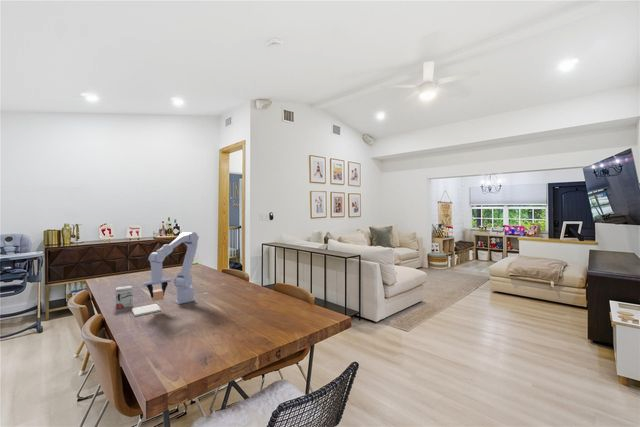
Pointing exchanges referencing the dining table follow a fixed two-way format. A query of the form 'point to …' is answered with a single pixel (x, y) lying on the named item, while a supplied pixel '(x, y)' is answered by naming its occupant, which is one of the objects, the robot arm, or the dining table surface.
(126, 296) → the ink box
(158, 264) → the robot arm
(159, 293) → the cube
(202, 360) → the dining table surface
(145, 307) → the mat
